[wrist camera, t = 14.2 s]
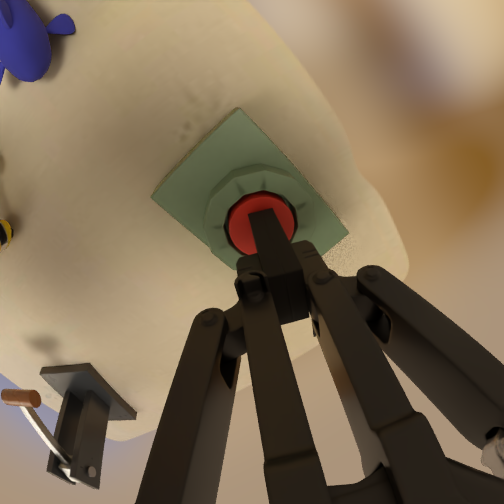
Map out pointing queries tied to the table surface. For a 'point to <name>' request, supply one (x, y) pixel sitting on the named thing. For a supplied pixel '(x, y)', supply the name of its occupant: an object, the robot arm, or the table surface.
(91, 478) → the bracket
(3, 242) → the twin pod spaceship
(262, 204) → the button
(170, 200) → the button box
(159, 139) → the table surface
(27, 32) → the fish toy
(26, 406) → the lever
